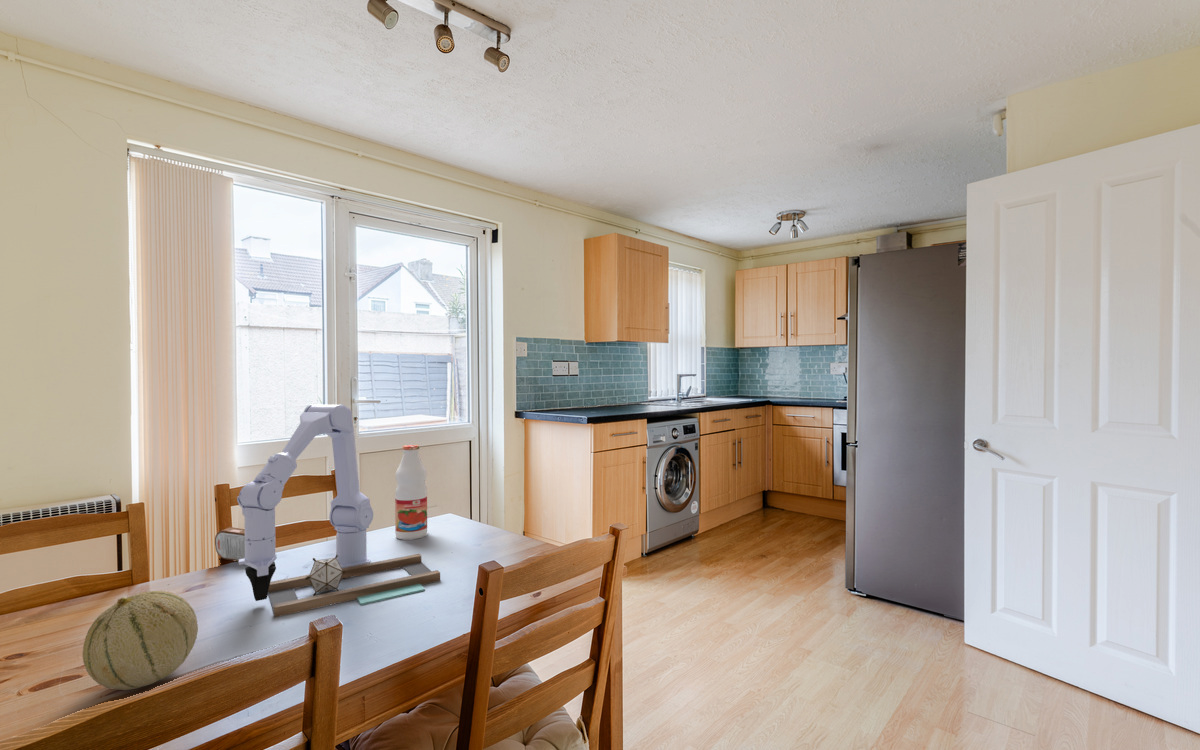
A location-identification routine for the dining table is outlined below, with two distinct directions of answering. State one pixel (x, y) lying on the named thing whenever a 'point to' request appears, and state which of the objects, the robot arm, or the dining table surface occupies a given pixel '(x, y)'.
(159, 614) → the cantaloupe
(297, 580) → the lane rails
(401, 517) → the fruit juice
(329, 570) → the game die
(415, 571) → the mats
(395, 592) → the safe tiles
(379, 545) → the dining table surface
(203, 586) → the dining table surface
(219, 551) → the tin
